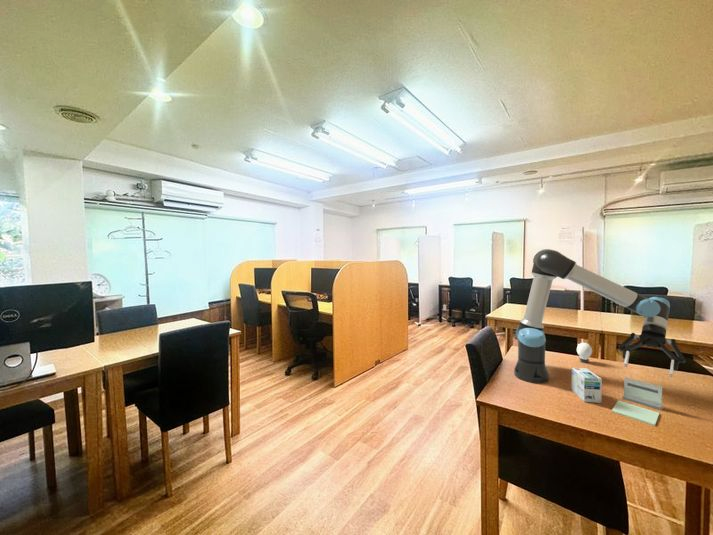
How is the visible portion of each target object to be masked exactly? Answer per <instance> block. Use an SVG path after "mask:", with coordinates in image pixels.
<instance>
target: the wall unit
mask: <svg viewBox="0 0 713 535" xmlns="http://www.w3.org/2000/svg"><path fill="white" fill-rule="evenodd" d="M623 380H624V381H623V396H622V400H626V401H628V402H632V403H635V404H639V405H642V406H645V407H649V408H652V409H654V410H655V409H656V410H658V411H659V410H660V411H663V409H664V408H663V406H662V404H663V389H664V388H663V385H657V384H655V383H654V384H653V383H650V382H646V381H641V380H637V379H634V378H630V377H627V376H625V377H624V379H623Z"/></svg>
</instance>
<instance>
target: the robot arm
mask: <svg viewBox="0 0 713 535" xmlns="http://www.w3.org/2000/svg"><path fill="white" fill-rule="evenodd" d="M532 263H533V265H532V268H531V271H530V272H531V274H532V275H533V278H532V283H531V286H530V291H529V296H528V299H527V303H526V308H525V312H524V316H523V318H522V319H519V323H518V326H517V328H516V329H515V338H516V341H517V347H518V348H517V349H518V350H517V353H518V354H517V356H518V357H517V362H516V364H515V366H514V368H513V371H514V372H513V374H514V376H515V377H516V378H518V379H520V380H522V381H525V382H529V383H532V384H533V383H534V384H544V383H548V382H549V381H550V380H549V379H550V374H549V371H548V369H547V366H546V343H547V340H546V339H547V338H546V335H545V333H544V330H545V326H544V324H543V320H544V316H545V312H546V309H547V308H546V307H547V305H548V300H549V296H550V292H551V289H552V284H553V280H556V279H557V277H558V278H560V279H562V280H566V279H567V280H569V281H571V282H573V283H575V284H577V285H579V286H581V287H583V288H585V289H587V290H589V291H592V292H593V293H595V294H598V295H600V296H602V297H604V298H605V299H608V300H610V301H612V302H614V303H615V304H616V305H619V306H621V307H623V308H626V309H628V310H630V311H632V312H634V313H636V314H638V315H640V316H641V317H643V322H642V323H643V324H642V327H641V332H640V334H636V333H635V332H631V334H630V336H629V337H627V338H626V339H625V340H624V341H623V342H622V343H621V344H619V345H618V350H619V351H620V352H622V359H624V362H623V366H624V367H626V368H628V365H629V359H630V352H632V351H634V350H636V349H638V348H641V347H643V346H646V347H649V348H650V347H652V348H655V349H656V348H657V349H658V348H659V349H660V350H661V351H663V352H664V353H665V355H667V357H669V358H670V359H671V360H670V361H671V362H670V369H669V378H673V377H674V371H677V370H678V369H679V364H686V358H685V356H684V355H683V353H682V352H681V350H680V348H679V347H678V345H677V344H676V339H674V338H671V339H666V336H667V329H668V321H669V317H670V316H669V315H670V311H671V309H670V308H671V304H670V301H669V300H668V299H666V298H663V297H659V296H652V297H649V298H648V297H646V296H644V295H642V294H639V293H637V292H636V291H633V290H631V289H629V288H627V287H626V286H622V285H620V284H618V283H616V282H614V281H612V280H610V279H608V278H605V277H604V276H601V275H599V274H597V273H595V272H592V271H591V270H589V269H586V268H584V267H582V266H580V265H578V264H577V262H576V261H575V260H573V259H571V258H569V257H567V256H566V255H564V254H562V253H561V252H560V251H558V250H554V249H550V248H549V249H548V248H547V249H546V248H545V249H542V250H539V251H538V252H536V254H535V255H534V256H533V259H532ZM637 339H639V340H638V341H636V342H634V341H635V340H637ZM666 344H668V345H669V346H670V347H671V348H672V350H673V352H674V353H675V354H674V353H673V352H672V351H671V350H670V349H669V348H668V347H667V346H666Z"/></svg>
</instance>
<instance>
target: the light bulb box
mask: <svg viewBox="0 0 713 535" xmlns="http://www.w3.org/2000/svg"><path fill="white" fill-rule="evenodd" d="M602 383H603V378H601V377H600V376H599V375H597V374H595V373H594V372H592V370H590V369H589V368H586V367H585V368H584V367H571V387H570V389H571V391H572V392H573V393H574V394H575V395H577V397H579V399H580V400H582V402H584V403H585V402H586V403H597V404H601V403H602V388H603V387H602V385H603V384H602Z"/></svg>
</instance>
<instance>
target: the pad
mask: <svg viewBox="0 0 713 535" xmlns="http://www.w3.org/2000/svg"><path fill="white" fill-rule="evenodd" d="M611 412H612V413H615V414H618V415H621V416H623V417H626V418H627V417H628V418H630V419H632V420H636V421H639V422H642V423H645V424H648V425H651V426H656V424H657V421H658V419H659V417H660V412H658V411H655V410H651V409H647V408H644V407H642V406H637V405H635V404H632V403H628V402H624V401H622V400H617V401H616V403H615V404H614V406H613V407H612V409H611Z"/></svg>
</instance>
